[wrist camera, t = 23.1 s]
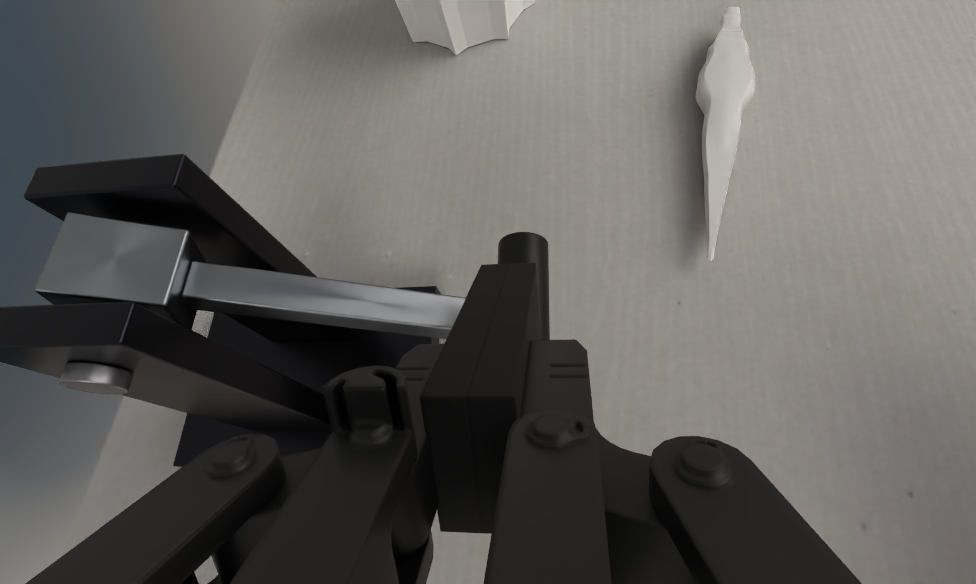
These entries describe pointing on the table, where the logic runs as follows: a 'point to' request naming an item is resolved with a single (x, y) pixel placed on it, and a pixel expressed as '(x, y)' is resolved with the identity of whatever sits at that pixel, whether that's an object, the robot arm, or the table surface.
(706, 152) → the white tapered spike
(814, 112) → the table surface
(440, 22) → the cup
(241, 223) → the lever bracket
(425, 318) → the lock lever
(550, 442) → the robot arm
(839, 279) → the table surface
